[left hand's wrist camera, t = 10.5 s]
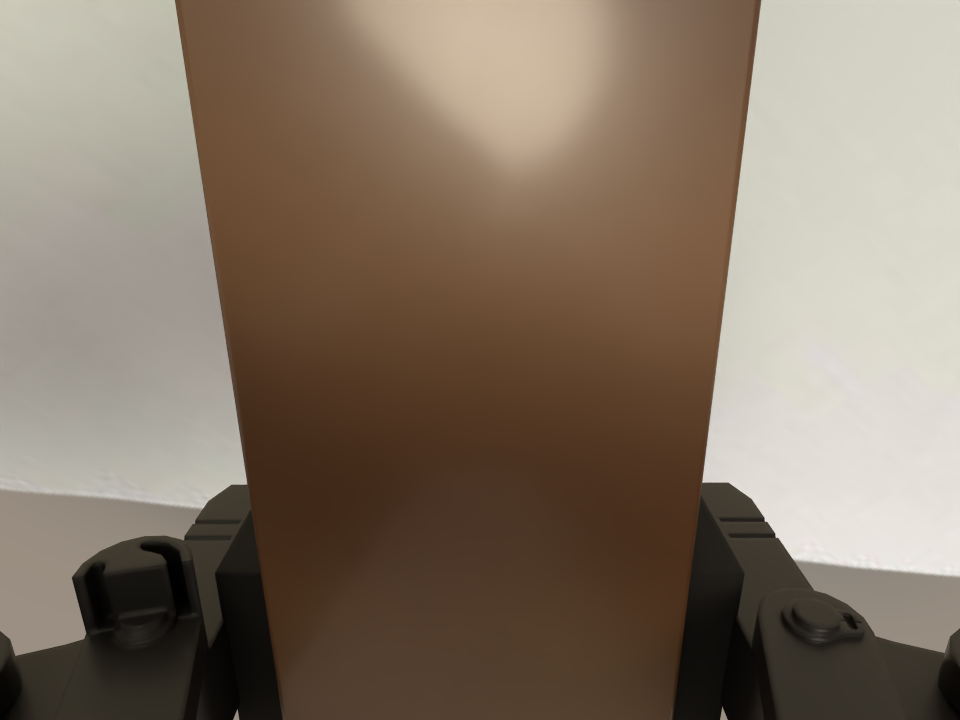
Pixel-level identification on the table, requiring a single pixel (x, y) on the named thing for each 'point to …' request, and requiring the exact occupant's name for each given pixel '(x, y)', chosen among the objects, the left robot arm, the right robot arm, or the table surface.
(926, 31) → the table surface
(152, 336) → the table surface
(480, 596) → the bar
